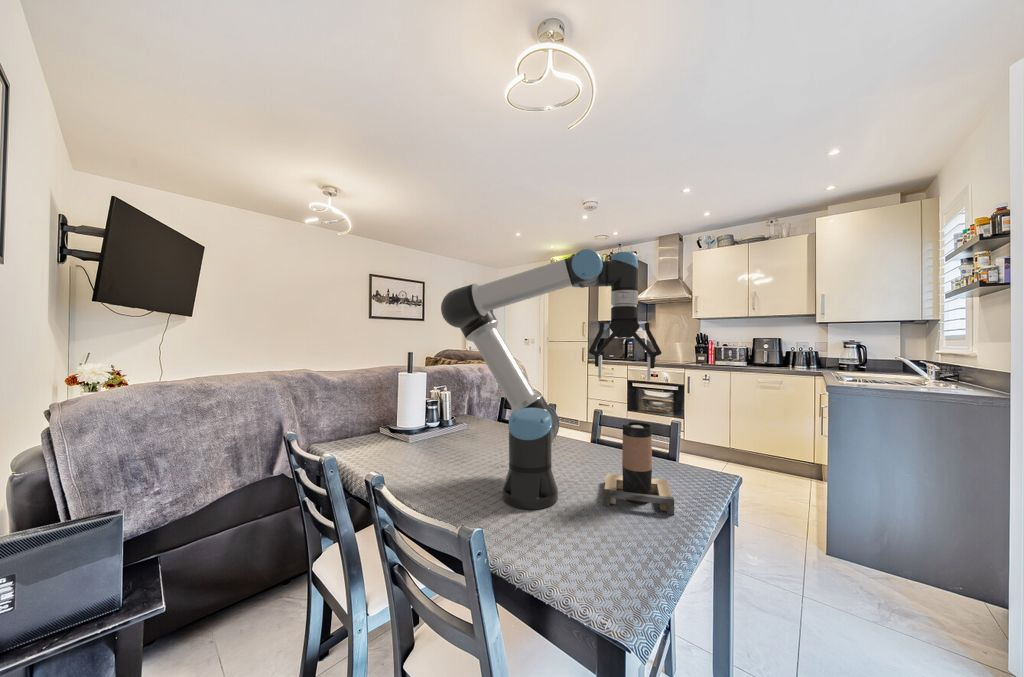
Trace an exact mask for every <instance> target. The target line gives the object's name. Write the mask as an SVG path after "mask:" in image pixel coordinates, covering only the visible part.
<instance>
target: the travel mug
mask: <svg viewBox="0 0 1024 677" xmlns="http://www.w3.org/2000/svg"><path fill="white" fill-rule="evenodd" d="M652 438H653V437H652V425H650V424H648V423H645V422H637V421H630V422H628V423H627V424H625V423H622V449H621V450H622V453H621V455H622V456H621V457H622V461H621V462H622V463H621V464H622V468H621V469H622V470H621V471H622V475H623V489H622V492H631V493H639V494H648V495H652V492H651V481H652V479H653V478H652V477H653V475H652V474H653V455H652V454H653V447H652V446H653V444H652V442H653V440H652ZM626 501H627V502H629V503H631V504H635V505H636V504H637V505H646V504H649V503H650V502H642V501H634V500H626Z"/></svg>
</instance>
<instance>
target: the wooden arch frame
mask: <svg viewBox="0 0 1024 677" xmlns="http://www.w3.org/2000/svg"><path fill="white" fill-rule="evenodd" d="M617 489H620V490H622V491H619V490H617ZM651 493H655V494H657V495H655V494H651V495H648V494H639V493H631V492H623V474H621V475H620V474H615V473H614V474H612V473H606V477H605V483H604V488H603V494H602V495H603V498H602V499H603V500H602V501H603V507H609V508H610V507H611V505H616V504H617V503H616V502H617V500H625V501H627V500H634V501H642V502H649V503H651V504H659V509H660V511H665V512H666V515H672V516H675V497H674V496H672V492H671V489H670V486H669V481H668V479H661V478H652V481H651Z"/></svg>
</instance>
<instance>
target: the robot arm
mask: <svg viewBox="0 0 1024 677" xmlns="http://www.w3.org/2000/svg"><path fill="white" fill-rule="evenodd" d="M569 287H573V288H581V289H583V288H594V287H596V288H597V287H599V288H600V287H605V288H606V287H610V288H611V289H610V294H611V295H610V305H611V306H612V307H611V308H610V322H609V323H604V322H601V323H600V324H599V330H598V332H597V334H596V336H595V338H594V340H593V342H592V344H591V345H590V347H589V350H588V353H589V354H590V355H593V356H594V367H597V368H598V371H597V373H598V375H597V376H598V379H602V378H603V356H602V355H601V354H602V353H603V351H605V349H606V348H607V347H608V346H609V345H610V343H611V342H612V341H613V340H614V339H615V338H618V339H623V338H625V339H631V338H633V339H634V340H635V341H636V342H637V343H638V344H639V345H640V346H641V347H642V348H643V349H644V351H645V352H646V353H647V355H649V356H647V359H646V360H647V365H646V366H647V367H646V368H647V369H646V370H647V372H646V374H647V381H651V369H655V366H656V364H655V361H656V359H655V358H656V357H657V356H661V355H662V353H663V352H662V350H661V349H660V347H659V345H658V343H657V340H656V339H655V338H654V334H653V333H652V332H651V329H650V328H651V327H650V323H649V322H644V323H639V307H638V306H637V305H639V258H638V255H637V254H636V253H635V252H633V251H621V252H615V253H613V254H611V257H610V260H603V259H602V257H601V255H600V254H599V252H597V251H596V250H594V249H592V248H591V249H590V248H583V249H580V250H579V251H577V252H576V254H574V255H573V256H569V257H567V258H563V259H561V260H556V261H553V262H551V263H547V264H545V265H541V266H538V267H536V268H535V267H534V268H532V269H528V270H525V271H522V272H519V273H516V274H513V275H509V276H506V277H502V278H500V279H496V280H493V281H490V282H486V283H483V284H480V285H479V284H477V283H472V284H469V285H466V286H462V287H459V288H455V289H453V290H450V291H449V292H448V293H446V295H445V296H443V299H442V302H441V304H440V312H441V315H442V318H443V320H444V321H445V322H446V323H447V324H448V325H450V326H451V327H454V328H458V329H460V331H461V333H462V335H463V336H464V338H465V339H466V341H468V342H473V344H474V346H475V347H476V348H477V350H478V353H479V354H480V355H481V357H482V359H483V360H484V362H485V364H486V365H487V368H488V369H489V370H490V372H491V374H492V376H493V378H494V379H495V381H496V383H497V384H498V386H499V388H500V390H501V391H502V393H503V394H504V397H505V398H506V399H507V401H508V403H509V405H510V408H511V410H510V415H509V419H508V420H509V421H508V424H507V425H508V470H507V474H506V478H505V480H504V483H503V487H502V500H503V501H504V503H506V504H507V505H508V506H511V507H514V508H516V509H520V510H521V509H522V510H541V509H546V508H549V507H552V506H554V505H556V503H557V502H558V499H559V491H558V486H557V483H556V480H555V476H554V474H553V470H552V444H553V442H554V440H555V438H556V437H557V435H558V434H559V430H560V419H559V416H558V413H557V412H556V410H555V409H554V408H553V407H551V405H549V404H548V402H547V401H546V399H545V397H544V396H543V395H542V394H539V393H536V392H535V390H534V389H533V386H532V385H531V383H530V381H529V380H528V378H527V377H526V375H525V374H524V372H523V370H522V369H521V366H520V365H519V364H518V361H517V360H516V359H515V357H514V356H513V353H512V352H511V350H510V348H509V347H508V345H507V344H506V342H505V340H504V339H503V337H502V335H501V334H500V332H499V330H498V329H497V328H498V324H499V321H498V320H497V318H496V316H495V314H494V310H496V309H500V308H503V307H506V306H509V305H513V304H516V303H519V302H523V301H526V300H530V299H533V298H535V297H538V296H539V297H540V296H542V295H545V294H550V293H553V292H556V291H559V290H562V289H565V288H569ZM608 328H609V330H610V331H611V333H610V335H608V338H607V339H606V340H605V341H604V342H603V343H602V344H601V345H600V346H599V348H598V349H597V350H596V348H597V347H598V344H599V343H600V340H601V339H602V338H603V335H604V333H605V331H607V330H608ZM640 328H641V329H642V331H645V333H646V335H647V337H648V339H649V342H650V343H651V345H652V347H653V349H654V351H653V350H652V349H651V348H650V346H648V345H647V344H646V342H645V341H644V340H643V339H642V338H641V337H640V335H638V333H637V331H639V329H640Z"/></svg>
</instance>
